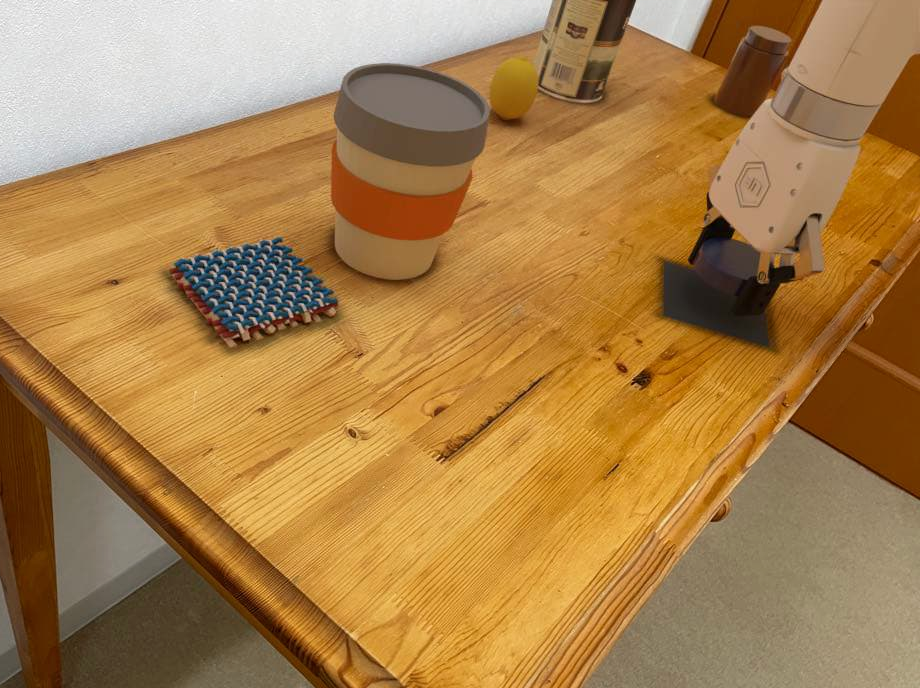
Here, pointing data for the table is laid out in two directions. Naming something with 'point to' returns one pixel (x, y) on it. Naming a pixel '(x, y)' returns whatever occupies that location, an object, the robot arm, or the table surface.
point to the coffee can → (580, 47)
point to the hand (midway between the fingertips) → (723, 286)
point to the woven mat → (253, 289)
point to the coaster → (708, 306)
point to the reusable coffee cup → (401, 164)
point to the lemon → (514, 88)
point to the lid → (726, 264)
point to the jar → (752, 71)
